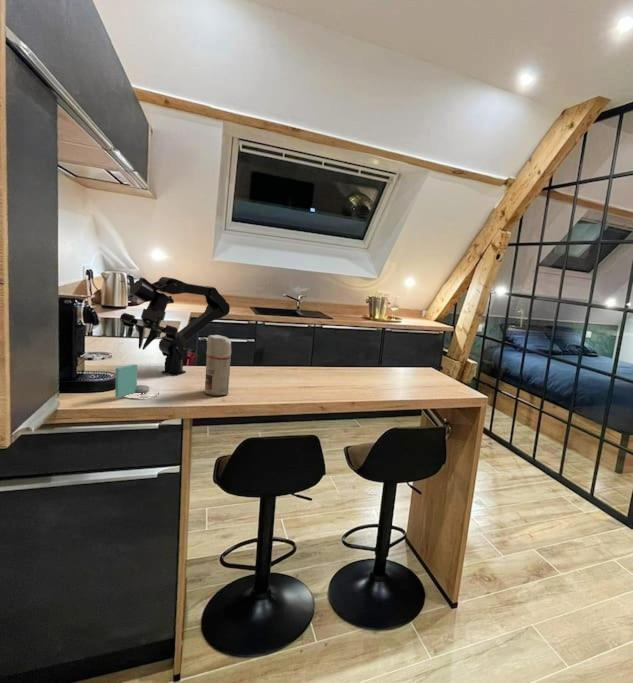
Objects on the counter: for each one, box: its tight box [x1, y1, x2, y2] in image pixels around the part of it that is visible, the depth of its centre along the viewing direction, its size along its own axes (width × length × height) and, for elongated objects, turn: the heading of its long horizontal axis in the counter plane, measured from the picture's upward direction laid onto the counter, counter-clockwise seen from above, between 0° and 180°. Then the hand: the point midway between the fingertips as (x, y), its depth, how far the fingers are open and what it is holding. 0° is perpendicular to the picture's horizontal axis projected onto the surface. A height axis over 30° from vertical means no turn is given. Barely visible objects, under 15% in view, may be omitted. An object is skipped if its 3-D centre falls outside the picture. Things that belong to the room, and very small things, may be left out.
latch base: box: [137, 386, 160, 398], centre depth 129 cm, size 11×11×1 cm
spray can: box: [203, 334, 232, 397], centre depth 135 cm, size 8×8×20 cm
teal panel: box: [115, 363, 149, 398], centre depth 125 cm, size 11×5×9 cm, turn 152°
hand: (141, 348), depth 136 cm, fingers closed
